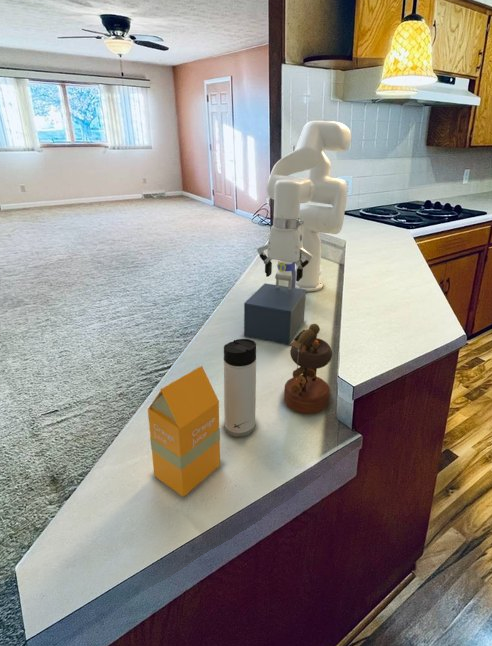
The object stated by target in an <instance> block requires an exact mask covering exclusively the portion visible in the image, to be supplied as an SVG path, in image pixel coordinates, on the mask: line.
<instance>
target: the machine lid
mask: <svg viewBox="0 0 492 646" xmlns="http://www.w3.org/2000/svg"><path fill="white" fill-rule="evenodd" d="M274 277H275V284H273V283H266V282H265V283H263V284H262V285H261V286H260V287H259V288H258V289H257V290H255V292H254V293H253V294H252V295H251V296H249V298H247V300H246V301H244V302H243V303H244V304H243V305H244V306H251V307H256V308H262V309H268V310H274V311H279V312H285V313H292V311H293V310H294V309H295V307H296V306H297V304H298V303H299V302H300V300H301V299H302V297H303V296H304V295H305V293H306V294H307V292H308V291H307V290H304V289H298V288H291V281H292V275H285V274H279V273H277V272H276V273H275V276H274ZM279 279H280V280H286V281H289V282H288V287H285V286H279Z"/></svg>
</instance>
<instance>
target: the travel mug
mask: <svg viewBox="0 0 492 646" xmlns="http://www.w3.org/2000/svg"><path fill="white" fill-rule="evenodd" d="M256 387H257V342H256V341H254V340H253V339H249V338H238V339H237V338H236V339H233V341H230V342H228V343H226V344H224V345H223V405H224V406H223V407H224V409H223V410H224V411H223V412H224V416H223V417H224V430H225V431H226V433H227V434H228V435H230V436H232V437H237V438H240V437H241V438H243V437H246V436H249V435H251V434H252V433H253V432H254V430H255V427H256V401H257V400H256V399H257V395H256V394H257V388H256Z"/></svg>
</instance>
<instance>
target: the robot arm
mask: <svg viewBox="0 0 492 646" xmlns="http://www.w3.org/2000/svg"><path fill="white" fill-rule="evenodd" d="M351 133H352V132H351V130H350V128H349V127H348V126H347V125H345V124H344V123H341V122H339V121H326V120H311V121H308V122H306V123H305V125H303V127H302V130H301V133H300V135H299V138H298V140H297V143H296V146H295V149H294V150H293V151H291V152H289V153H287V154H286V155H284V156H283V157H281V158H280V159H279V160H278V161H277V162H276V163H275V164H274V165H273V167H272V169H271V172H270V175H269V177H268V180H267V182H266V183H267V184H266V193H267V195H268V197H269V198H270V199H271V200H273V221H272V222H273V223H272V224H273V225H271V226H270V230H269V234H268V241H267V244H264V245H261V246H259V247H258V248H256V251H257V253H258V255H259V258H260V259H261V260H262V262H263V264H264V273H265V276H266V277H267V278H268V277H270V276H271V275H272V273H273V271H272V269H273V262H272V260H274V261H277V260H280V261H287V262H295V270H296V288H298V289H304V290H307V291H306V292H317V291H320V290H321V289H323V285H324V284H323V282H322V281H321V280H320V276H321V275H322V271H321V261H322V249H323V243H322V240H321V238H320V235H319V234H318V233H320V234H329V235H337V234H339V233H341V231H342V228H343V224H344V218H345V213H346V206H347V199H348V183H347V181H346V180H344V179H342V178H337V177H331V172H332V171H331V169H332V163H331V161H330V159H329V157H328V156H327V155H326V154H325V151H328V152H341V153H342V152H346V151H347V150H348V149H349V148H350V145H351V142H352V134H351ZM305 171H306V177H301V176H293V174H297V173H301V172H305ZM291 175H292V176H291ZM309 202H310V203H315V204H323V205H331V206H332V207H330V206H322V205H315V204H307V203H309ZM301 204H303V205H301ZM266 250H267V253H266V254H265V251H266Z"/></svg>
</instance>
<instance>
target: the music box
mask: <svg viewBox="0 0 492 646" xmlns="http://www.w3.org/2000/svg"><path fill="white" fill-rule="evenodd" d="M320 330H321V328H320V326H319V324H317V323H312V324H310V325H309V326H308V328H307V329H306V328H305V329H302V330H301V331H300V332H299V333H297V334H296V335H295V337H294V338H293V341H291V343H290V344H289V345H288V346H289V347H290V350H289V351H290V352H289V353H290V358H291V360H292V361H293V362H294V364H296V365H297V366H296V369H294V370H293V371H292V377H291V378H289V379H288V380H287V381H286V383H285V384H284V392H283V401H284V404H285V405H286V407H288V409H289V410H291V411H293V412H295V413H298V414H302V415H315V414H318V413H321V412H323V411H324V410H325V409H327V408H328V406H329V403H330V397H331V396H330V394H331V387H330V385H329V384H328V383H327V382H326V381H325V380H324V379H322V378H321V377H319V376H317V372H318V370H319V369H321V368H324V367H326V366H327V365H328V364H329V363H330V362H331V360H332V358H333V349H332V346H331V345H330V344H329V343H328V342H327V341H326V340H323V339H321V338H318V334H319V333H320ZM317 369H318V370H317Z"/></svg>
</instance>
